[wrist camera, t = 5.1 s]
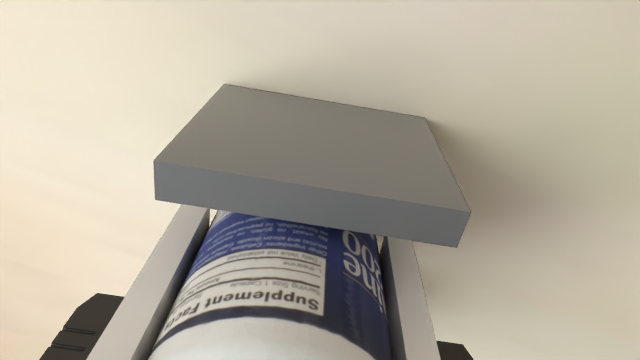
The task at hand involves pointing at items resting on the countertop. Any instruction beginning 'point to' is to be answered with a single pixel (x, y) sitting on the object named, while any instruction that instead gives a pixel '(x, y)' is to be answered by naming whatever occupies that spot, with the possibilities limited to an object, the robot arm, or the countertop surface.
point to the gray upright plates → (314, 166)
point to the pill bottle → (278, 295)
